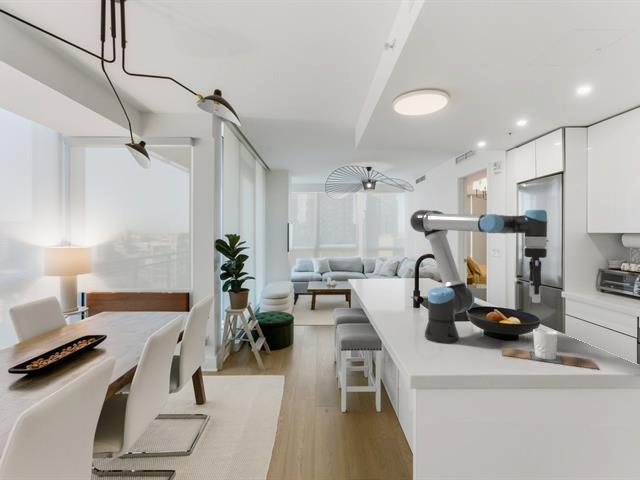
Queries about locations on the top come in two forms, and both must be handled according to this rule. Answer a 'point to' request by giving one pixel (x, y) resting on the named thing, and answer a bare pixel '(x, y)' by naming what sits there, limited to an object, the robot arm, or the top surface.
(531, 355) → the board
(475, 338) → the top surface
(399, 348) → the top surface
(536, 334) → the white cup
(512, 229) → the robot arm
